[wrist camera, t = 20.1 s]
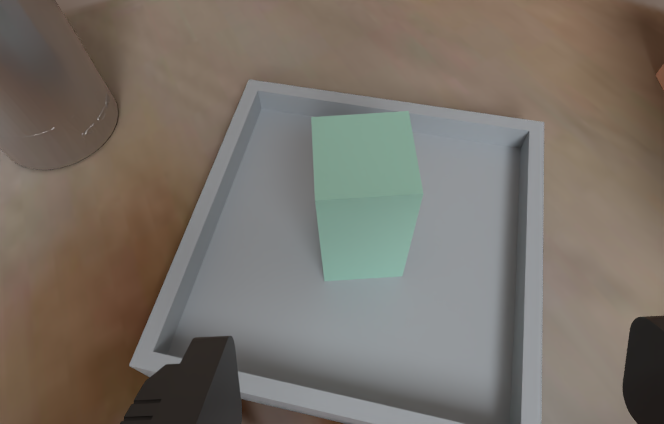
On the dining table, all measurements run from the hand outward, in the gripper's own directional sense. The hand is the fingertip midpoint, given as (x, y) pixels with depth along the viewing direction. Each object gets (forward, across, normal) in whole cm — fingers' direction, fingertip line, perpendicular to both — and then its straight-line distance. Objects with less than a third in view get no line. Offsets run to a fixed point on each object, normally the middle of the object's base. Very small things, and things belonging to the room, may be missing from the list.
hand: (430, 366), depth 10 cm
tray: (+22, 0, +6) cm, 23 cm away
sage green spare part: (+22, 0, +5) cm, 22 cm away
